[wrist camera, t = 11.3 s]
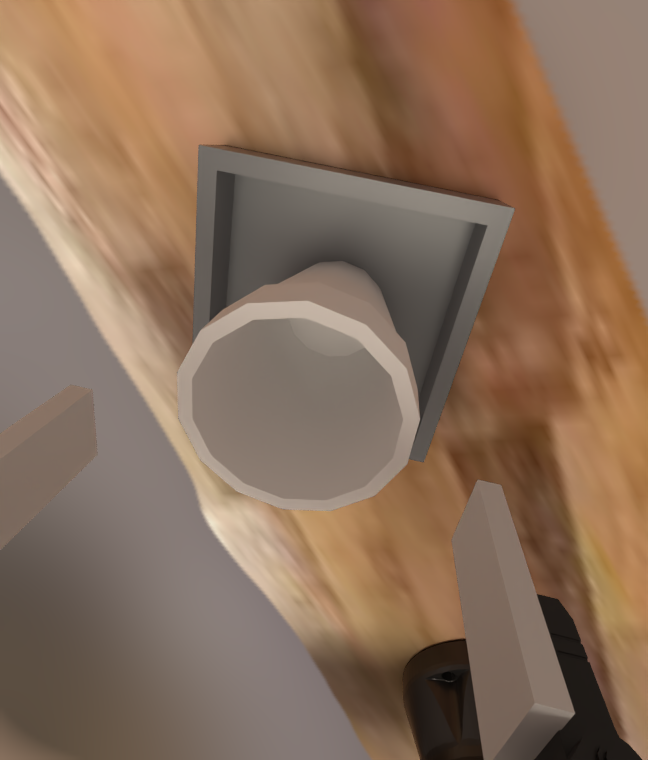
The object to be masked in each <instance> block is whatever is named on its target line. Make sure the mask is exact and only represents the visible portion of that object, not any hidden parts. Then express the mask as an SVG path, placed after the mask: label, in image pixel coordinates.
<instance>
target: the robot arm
mask: <svg viewBox="0 0 648 760" xmlns="http://www.w3.org/2000/svg"><path fill="white" fill-rule="evenodd" d="M96 455H97V442H96V429H95V417H94V404H93V391H92V389H87V388H82V387H79V386H74V385H70V386H68V387H67V388H65V389H64V390H63V391H61V392H60V393H58V394H57V395H55V396H54V397H52V398H51V399H50V400H48V401H47V402H45V403H44V404H42V405H41V406H39V407H38V408H37V409H35V410H34V411H32V412H31V413H29V414H28V415H26V416H25V417H23V418H22V419H21V420H19V421H18V422H16V423H15V424H13V425H12V426H10V427H9V428H7V429H6V430H5V431H3V432H2V433H0V550H1V549H2V548H3V547H4V546H5V545H6V544H7V543H8V542H9V541H10V540H11V539H12V538H13V537H14V536H15V535H16V534H17V533H18V532H19V531H20V530H21V529H22V528H23V527H24V526H25V525H26V524H27V523H28V522H29V521H30V520H31V519H32V518H33V517H34V516H35V515H37V514H38V512H40V511H41V510H42V509H43V508H44V507H45V506H46V505H47V504H48V503H49V502H50V501H51V500H52V499H53V498H54V497H55V496H56V495H57V494H58V493H59V492H60V491H61V490H62V489H63V488H64V487H65V486H66V485H67V484H68V483H69V482H70V481H71V480H72V479H73V478H74V477H75V476H76V475H77V474H78V473H79V472H80V471H81V470H82V469H83V468H84V467H85V466H86V465H87V464H88V463H89V462H90V461H91V460H92V459H93V458H94V457H95V456H96ZM452 546H453V553H454V560H455V567H456V574H457V581H458V587H459V594H460V601H461V608H462V615H463V622H464V628H465V635H466V641H455V642H449V643H444V644H440V645H437V646H433V647H431V648H428V649H426V650H424V651H422V652H421V653H419V654H418V655H416V656H415V657H414V658H413V659H412V660H411V661H410V662H409V663H408V664H407V666H406V668H405V670H404V673H403V701H404V707H405V710H406V714H407V717H408V720H409V724H410V727H411V730H412V734H413V737H414V740H415V744H416V747H417V750H418V754H419V757H420V760H642V759H641V758H640V756H639V755H638V754H637V753H636V752H635V751H634V750H633V749H632V748H631V747H630V746H629V744H627V743H626V742H625V741H623V740H622V739H620V738H619V736H618V734H617V732H616V730H615V728H614V725H613V722H612V720H611V717H610V715H609V712H608V709H607V707H606V704H605V702H604V699H603V696H602V694H601V691H600V689H599V686H598V683H597V681H596V678H595V676H594V673H593V671H592V668H591V665H590V663H589V662H588V661H587V655H586V652H585V650H584V647H583V645H582V644H581V639H580V637H579V634H578V632H577V629H576V626H575V624H574V621H573V619H572V618H571V616H570V615H569V614H568V612H567V611H566V610H565V608H564V607H563V605H562V604H561V603H560V601H559V600H558V599H555V598H551V597H546V596H542V595H538V594H536V591H535V588H534V585H533V582H532V579H531V575H530V572H529V569H528V566H527V563H526V560H525V557H524V554H523V551H522V548H521V545H520V541H519V538H518V535H517V532H516V529H515V526H514V523H513V520H512V517H511V514H510V511H509V508H508V504H507V501H506V498H505V495H504V492H503V489H502V486H501V485H499V484H495V483H491V482H486V481H482V480H477V482H476V484H475V487H474V489H473V491H472V494H471V496H470V498H469V500H468V503H467V505H466V507H465V510H464V512H463V514H462V517H461V519H460V521H459V523H458V526H457V528H456V530H455V533H454V535H453V537H452Z"/></svg>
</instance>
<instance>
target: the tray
mask: <svg viewBox="0 0 648 760" xmlns="http://www.w3.org/2000/svg"><path fill="white" fill-rule="evenodd" d="M514 210H515V208H513V207H511V206H509V205H507V204H505V203H503V202H501V201H499V200H496V199H491V198H486V197H481V196H476V195H471V194H466V193H461V192H456V191H451V190H446V189H441V188H436V187H431V186H426V185H421V184H416V183H411V182H406V181H401V180H396V179H391V178H386V177H381V176H376V175H371V174H366V173H361V172H356V171H351V170H346V169H341V168H336V167H331V166H326V165H321V164H316V163H311V162H306V161H301V160H296V159H291V158H287V157H282V156H277V155H272V154H267V153H262V152H257V151H252V150H247V149H242V148H237V147H232V146H227V145H199V151H198V183H197V216H196V248H195V281H194V314H193V343H194V341H195V339H196V337H197V335H198V334H199V332H200V330H201V329H202V328H203V327H205V326H206V325H207V324H208V323H209V322H210V321H211V320H212V319H213V318H214V317H215V316H216V315H218V314H219V313H220V312H221V311H222V310H223V309H225V308H226V307H228V306H230V305H231V304H233V303H235V302H237V301H238V300H240V299H242V298H243V297H245V296H247V295H248V294H250V293H252V292H254V291H255V290H257V289H259V288H260V287H262V286H264V285H271V284H279V283H280V282H282V281H284V280H286V279H288V278H290V277H292V276H294V275H296V274H298V273H300V272H302V271H303V270H305V269H307V268H309V267H311V266H313V265H315V264H317V263H319V262H333V261H344V262H346V263H349V264H351V265H354V266H356V267H358V268H361V269H363V270H365V271H366V273H367V274H368V275H369V276H370V277H371V278H372V279H373V281H374V282H375V283H376V284H377V285H378V286H379V288H380V290H381V292H382V295H383V298H384V300H385V303H386V306H387V308H388V311H389V314H390V316H391V319H392V322H393V325H394V327H395V330H396V333H397V334H398V335H399V336H400V337H401V338H402V339H403V340H404V341H405V342H406V346H407V350H408V354H409V358H410V362H411V365H412V369H413V373H414V377H415V381H416V385H417V389H418V400H419V412H420V421H419V425H418V428H417V432H416V435H415V439H414V442H413V446H412V449H411V453H410V456H409V459H411V460H415V461H420V462H424V460H425V457H426V455H427V452H428V449H429V446H430V443H431V441H432V438H433V435H434V432H435V430H436V427H437V424H438V421H439V418H440V416H441V413H442V410H443V407H444V405H445V402H446V399H447V396H448V394H449V391H450V388H451V385H452V382H453V380H454V377H455V374H456V371H457V369H458V366H459V363H460V360H461V357H462V355H463V352H464V349H465V346H466V344H467V341H468V338H469V335H470V332H471V330H472V327H473V324H474V321H475V319H476V316H477V313H478V310H479V308H480V305H481V302H482V299H483V296H484V294H485V291H486V288H487V285H488V283H489V280H490V277H491V274H492V271H493V269H494V266H495V263H496V260H497V258H498V255H499V252H500V249H501V246H502V244H503V241H504V238H505V235H506V233H507V230H508V227H509V224H510V222H511V219H512V216H513V213H514Z"/></svg>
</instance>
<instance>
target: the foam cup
mask: <svg viewBox="0 0 648 760" xmlns="http://www.w3.org/2000/svg"><path fill="white" fill-rule="evenodd" d="M177 389H178V419H179V421H180V423H181V425H182V426H183V428H184V430H185V432H186V434H187V436H188V438H189V440H190V442H191V443H192V445H193V447H194V449H195V451H196V453H197V455H198V457H199V459H200V460H201V461H202V462H203V463H204V464H205V465H207V466H208V467H209V468H210V469H211V470H212V471H214V472H215V473H216V474H217V475H218V476H219V477H221V478H222V479H223V480H224V481H225V482H226V483H228V484H229V485H230V486H231V487H232V488H233V489H235V490H236V491H237V492H239V493H242V494H245V495H247V496H250V497H252V498H255V499H257V500H260V501H263V502H265V503H268V504H270V505H273V506H275V507H278V508H281V509H288V510H315V511H332V510H335V509H338V508H341V507H344V506H347V505H350V504H353V503H356V502H359V501H361V500H364V499H367V498H370V497H373V496H375V495H376V494H377V493H378V492H379V491H380V490H381V489H382V488H383V487H384V486H385V485H386V484H387V483H389V482H390V481H391V480H392V479H393V478H394V477H395V476H396V475H397V474H398V473H399V472H400V471H401V470H402V469H403V468H404V467H405V466H406V465H407V463H408V460H409V456H410V453H411V449H412V446H413V442H414V439H415V435H416V432H417V428H418V425H419V421H420V412H419V400H418V389H417V385H416V381H415V377H414V373H413V369H412V365H411V362H410V358H409V354H408V350H407V346H406V342H405V341H404V340H403V339H402V338H401V337H400V336H399V335H398V334H397V333H396V330H395V327H394V325H393V322H392V319H391V316H390V314H389V311H388V308H387V306H386V303H385V300H384V298H383V295H382V292H381V290H380V288H379V286H378V285H377V284H376V283H375V282H374V281H373V279H372V278H371V277H370V276H369V275H368V274H367V273H366V271H365V270H363V269H361V268H358V267H356V266H354V265H351V264H349V263H346V262H344V261H333V262H319V263H317V264H315V265H313V266H311V267H309V268H307V269H305V270H303V271H302V272H300V273H298V274H296V275H294V276H292V277H290V278H288V279H286V280H284V281H282V282H280V283H279V284H271V285H264V286H262V287H260V288H259V289H257V290H255V291H254V292H252V293H250V294H248V295H247V296H245V297H243V298H242V299H240V300H238V301H237V302H235V303H233V304H231V305H230V306H228V307H226V308H225V309H223V310H222V311H221V312H220V313H219V314H218V315H216V316H215V317H214V318H213V319H212V320H211V321H210V322H209V323H208V324H207V325H206V326H205V327H203V328H202V329H201V330H200V332H199V334H198V335H197V337H196V339H195V341H194V343H193V344H192V346H191V348H190V350H189V352H188V354H187V355H186V357H185V359H184V361H183V363H182V364H181V366H180V368H179V370H178V372H177Z"/></svg>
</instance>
